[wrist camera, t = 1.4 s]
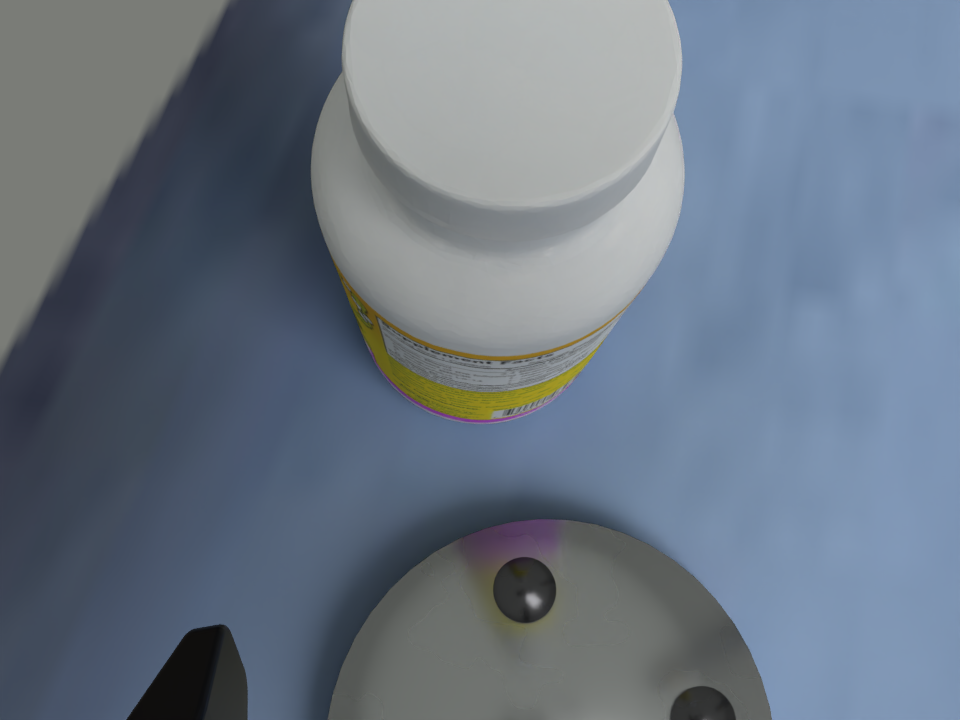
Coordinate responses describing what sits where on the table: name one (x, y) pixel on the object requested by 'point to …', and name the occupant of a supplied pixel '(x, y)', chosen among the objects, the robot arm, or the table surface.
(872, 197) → the table surface
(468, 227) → the supplement bottle
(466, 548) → the rosette plate
